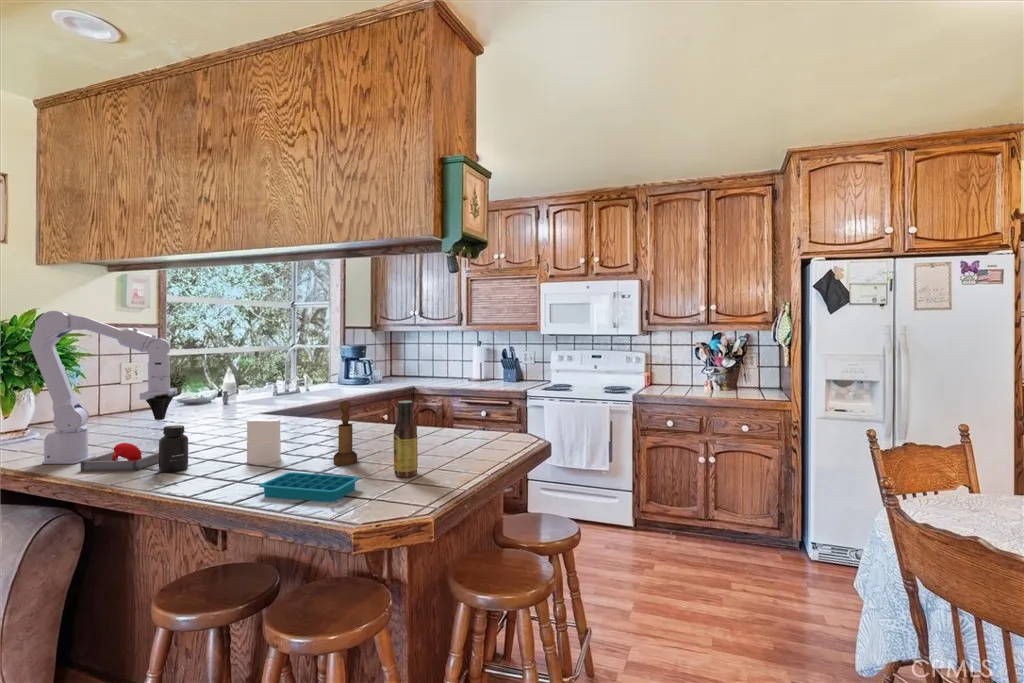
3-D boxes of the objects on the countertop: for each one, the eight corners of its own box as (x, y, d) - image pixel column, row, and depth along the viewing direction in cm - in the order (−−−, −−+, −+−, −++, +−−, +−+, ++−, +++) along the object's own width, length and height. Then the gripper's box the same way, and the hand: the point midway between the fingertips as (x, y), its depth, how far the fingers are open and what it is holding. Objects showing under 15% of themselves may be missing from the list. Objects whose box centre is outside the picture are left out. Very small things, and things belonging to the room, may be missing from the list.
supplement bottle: (177, 473, 135) (177, 429, 134) (152, 473, 135) (152, 428, 134) (194, 466, 141) (193, 424, 141) (170, 466, 142) (170, 424, 141)
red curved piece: (101, 455, 141) (113, 445, 139) (120, 443, 147) (131, 434, 145) (122, 475, 143) (134, 466, 141) (139, 463, 148) (151, 455, 147)
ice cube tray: (334, 505, 111) (334, 491, 111) (256, 498, 116) (256, 485, 116) (361, 489, 123) (361, 477, 123) (289, 483, 127) (289, 471, 127)
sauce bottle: (397, 471, 137) (397, 399, 137) (420, 471, 137) (420, 399, 136) (390, 478, 130) (390, 402, 130) (414, 478, 130) (413, 402, 130)
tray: (80, 471, 136) (80, 461, 136) (114, 459, 148) (114, 451, 148) (136, 470, 137) (136, 461, 137) (165, 459, 149) (165, 451, 149)
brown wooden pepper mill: (347, 466, 142) (347, 403, 142) (328, 464, 144) (328, 402, 144) (361, 460, 148) (361, 400, 148) (343, 458, 150) (343, 399, 150)
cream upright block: (286, 456, 153) (286, 417, 153) (271, 464, 144) (270, 423, 144) (257, 456, 153) (257, 417, 153) (240, 464, 144) (240, 422, 144)
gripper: (156, 378, 150) (156, 423, 150) (186, 374, 165) (186, 415, 165) (132, 378, 150) (132, 423, 150) (164, 374, 164) (165, 415, 165)
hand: (159, 419), depth 158 cm, fingers closed
